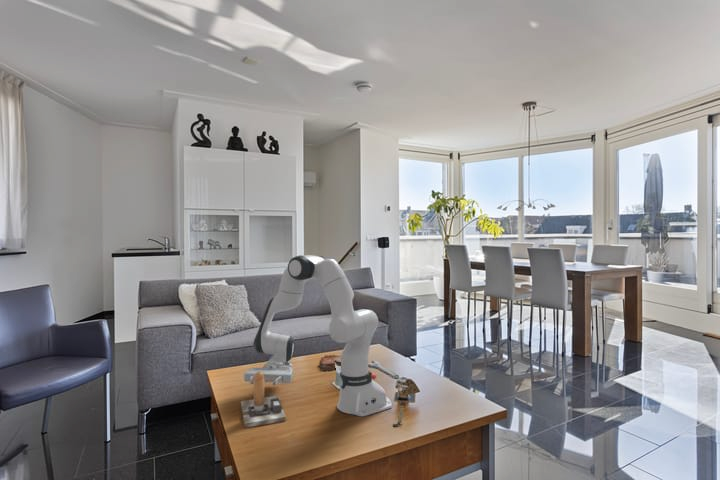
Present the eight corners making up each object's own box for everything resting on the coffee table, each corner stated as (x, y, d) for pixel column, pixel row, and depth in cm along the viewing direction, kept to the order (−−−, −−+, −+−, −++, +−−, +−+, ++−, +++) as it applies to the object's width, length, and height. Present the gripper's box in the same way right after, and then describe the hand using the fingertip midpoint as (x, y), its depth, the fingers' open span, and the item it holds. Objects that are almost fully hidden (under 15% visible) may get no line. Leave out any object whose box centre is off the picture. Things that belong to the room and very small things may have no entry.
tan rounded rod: (263, 408, 153) (263, 369, 152) (264, 412, 149) (264, 373, 149) (253, 409, 151) (253, 371, 151) (254, 414, 148) (254, 374, 147)
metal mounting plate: (277, 399, 165) (277, 393, 165) (285, 420, 146) (285, 414, 146) (241, 404, 159) (241, 399, 159) (244, 427, 141) (244, 421, 141)
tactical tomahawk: (410, 432, 140) (410, 429, 140) (392, 428, 142) (392, 425, 141) (415, 405, 160) (415, 403, 160) (399, 402, 162) (400, 400, 162)
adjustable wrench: (400, 379, 189) (400, 375, 189) (389, 381, 186) (389, 377, 186) (376, 363, 212) (376, 359, 212) (365, 364, 209) (365, 361, 209)
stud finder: (278, 404, 156) (278, 398, 156) (281, 411, 150) (281, 405, 150) (270, 405, 155) (270, 399, 155) (273, 413, 149) (273, 406, 149)
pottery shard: (317, 362, 214) (317, 355, 214) (345, 359, 217) (345, 352, 217) (321, 372, 198) (321, 364, 198) (351, 369, 201) (351, 362, 201)
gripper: (250, 362, 170) (237, 374, 156) (295, 363, 168) (287, 375, 154) (250, 376, 170) (237, 389, 156) (295, 378, 168) (287, 391, 155)
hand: (263, 382), depth 155 cm, fingers open, 8 cm apart
